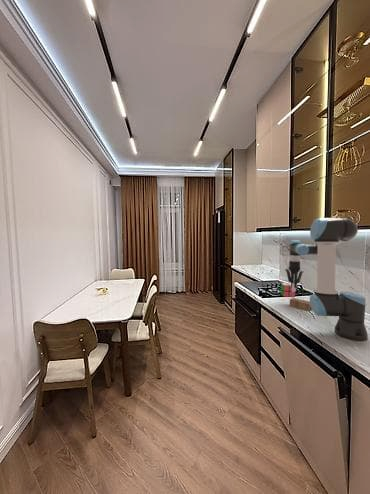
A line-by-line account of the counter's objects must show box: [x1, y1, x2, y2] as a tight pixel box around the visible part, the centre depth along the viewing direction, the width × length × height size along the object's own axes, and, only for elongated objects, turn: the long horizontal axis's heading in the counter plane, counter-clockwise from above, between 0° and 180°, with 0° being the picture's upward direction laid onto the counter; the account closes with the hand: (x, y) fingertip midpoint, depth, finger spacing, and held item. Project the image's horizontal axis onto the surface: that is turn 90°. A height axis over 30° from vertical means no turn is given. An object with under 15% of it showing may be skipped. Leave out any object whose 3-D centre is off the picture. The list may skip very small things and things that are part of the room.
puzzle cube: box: [280, 282, 296, 298], centre depth 211 cm, size 10×10×10 cm
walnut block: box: [288, 297, 313, 312], centre depth 179 cm, size 7×5×14 cm
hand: (293, 291), depth 183 cm, fingers closed
